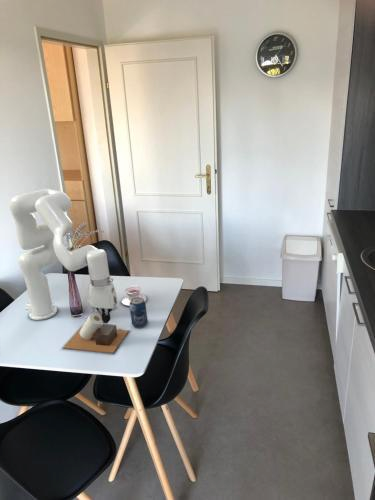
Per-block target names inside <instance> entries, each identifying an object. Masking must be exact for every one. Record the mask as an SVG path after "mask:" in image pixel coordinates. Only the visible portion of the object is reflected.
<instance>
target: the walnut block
mask: <svg viewBox="0 0 375 500" xmlns="http://www.w3.org/2000/svg"><path fill="white" fill-rule="evenodd" d="M117 330H118V329H117V324H112V323H107V324H106V323H105V324H104V323H102V324H101V326H100V327H99V329H98V330H97V331H96V333H95V334H94V335H95V341H96V345H105V346H110V345H111V343H112V342H113V341H114V339H115V338H116V336H117Z"/></svg>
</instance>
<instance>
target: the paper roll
mask: <svg viewBox="0 0 375 500" xmlns="http://www.w3.org/2000/svg"><path fill="white" fill-rule="evenodd" d="M102 324H104V323H103V320H102V317H101V316H100V315H99V314H97V313H93V312H92V313H90V314H89V316H88V317H87V319H86V320H85V322H84V324H83V325H82V326H81V327H82V328H81V327H80V328H81V330H80V336H81V337H82V338H83V339H85V340H91V339H92V338H93V337H94V334H95V333H96V331H97V330H98V329H99V328H100V327H101V325H102Z"/></svg>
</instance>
